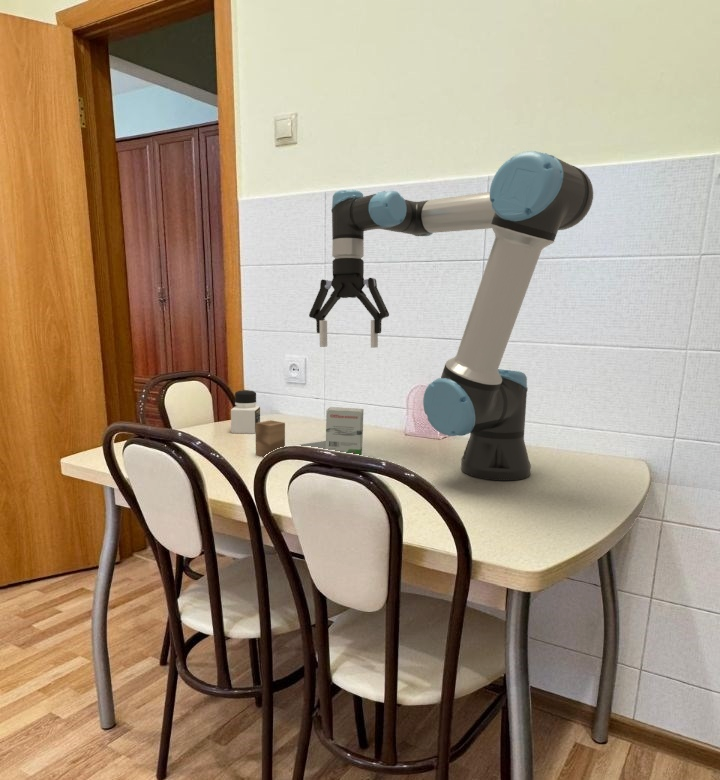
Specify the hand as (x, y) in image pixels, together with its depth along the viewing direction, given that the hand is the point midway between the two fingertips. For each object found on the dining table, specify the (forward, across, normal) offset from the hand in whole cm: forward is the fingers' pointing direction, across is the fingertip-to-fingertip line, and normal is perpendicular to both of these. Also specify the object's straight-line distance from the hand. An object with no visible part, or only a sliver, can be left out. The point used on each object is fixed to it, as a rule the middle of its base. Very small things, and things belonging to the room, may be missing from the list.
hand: (348, 347), depth 137 cm
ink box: (+26, -1, +4) cm, 27 cm away
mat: (+26, +8, 0) cm, 28 cm away
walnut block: (+26, +16, +10) cm, 33 cm away
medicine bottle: (+26, +38, -11) cm, 47 cm away
